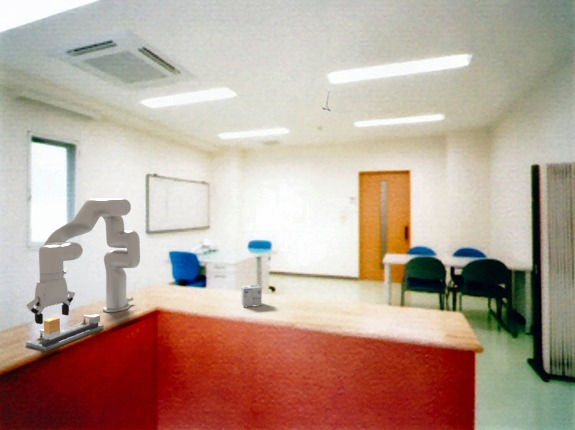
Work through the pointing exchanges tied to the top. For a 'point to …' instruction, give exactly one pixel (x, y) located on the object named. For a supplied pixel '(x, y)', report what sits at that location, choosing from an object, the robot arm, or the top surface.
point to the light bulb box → (251, 295)
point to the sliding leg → (51, 328)
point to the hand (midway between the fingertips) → (52, 319)
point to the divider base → (63, 341)
